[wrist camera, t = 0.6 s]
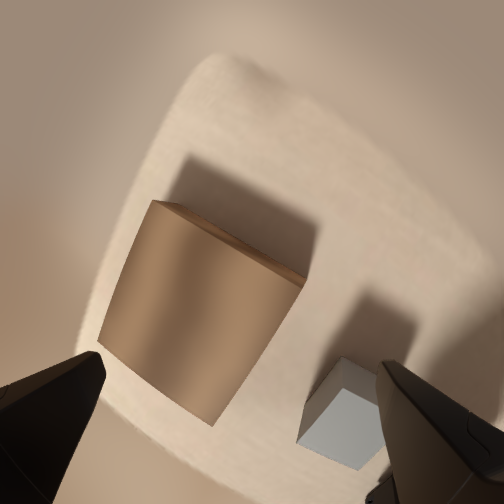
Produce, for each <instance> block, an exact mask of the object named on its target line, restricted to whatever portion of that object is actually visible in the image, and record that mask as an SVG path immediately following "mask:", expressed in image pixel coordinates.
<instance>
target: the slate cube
mask: <svg viewBox="0 0 504 504" xmlns="http://www.w3.org/2000/svg"><path fill="white" fill-rule="evenodd" d="M376 377H377V375H375V374H374V373H372V372H370V371H368V370H366V369H364V368H363V367H361V366H359V365H357V364H355V363H353V362H352V361H350V360H348V359H346V358H344V357H343V356H341V357H340V358H339V360H338V361H337V363H336V364H335V365H334V367H333V368H332V370H331V371H330V372H329V374H328V375H327V376H326V378H325V379H324V380H323V382H322V383H321V384H320V386H319V387H318V388H317V390H316V391H315V392H314V394H313V395H312V396H311V397H310V399H309V400H308V401H307V403H306V404H305V405H304V409H303V414H302V419H301V423H300V428H299V433H298V437H297V441H296V443H297V444H299V445H301V446H303V447H305V448H307V449H309V450H312V451H314V452H316V453H318V454H320V455H322V456H325V457H327V458H329V459H331V460H334V461H336V462H338V463H341V464H343V465H345V466H348V467H350V468H353V469H355V470H360V469H361V468H362V467H363V466H364V465H365V464H366V463H367V462H368V461H369V460H370V459H371V458H372V457H373V456H374V455H375V454H376V453H377V452H378V451H379V450H380V449H381V448H382V447H383V446H384V445H385V444H386V443H385V440H384V436H383V432H382V427H381V421H380V414H379V407H378V401H377V395H376V389H375V382H376Z"/></svg>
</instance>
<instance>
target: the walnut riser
mask: <svg viewBox="0 0 504 504" xmlns="http://www.w3.org/2000/svg"><path fill="white" fill-rule="evenodd" d="M306 281H307V279H305V278H304V277H302V276H300V275H299V274H297V273H295V272H294V271H292V270H290V269H288V268H287V267H285V266H283V265H282V264H280V263H278V262H276V261H275V260H273V259H271V258H270V257H268V256H266V255H265V254H263V253H261V252H259V251H258V250H256V249H254V248H253V247H251V246H249V245H248V244H246V243H244V242H242V241H241V240H239V239H237V238H236V237H234V236H232V235H230V234H229V233H227V232H225V231H224V230H222V229H220V228H218V227H217V226H215V225H213V224H212V223H210V222H208V221H206V220H205V219H203V218H201V217H200V216H198V215H196V214H194V213H193V212H191V211H189V210H188V209H186V208H184V207H182V206H181V205H179V204H176V203H170V202H164V201H157V200H152V202H151V204H150V206H149V208H148V210H147V212H146V215H145V217H144V219H143V221H142V224H141V226H140V228H139V231H138V233H137V235H136V238H135V240H134V242H133V245H132V247H131V250H130V252H129V254H128V257H127V259H126V262H125V264H124V267H123V269H122V272H121V275H120V277H119V280H118V282H117V285H116V288H115V291H114V293H113V296H112V299H111V302H110V304H109V307H108V310H107V313H106V316H105V319H104V322H103V325H102V328H101V331H100V334H99V337H98V340H97V341H98V342H99V343H100V344H101V345H103V346H104V347H105V348H106V349H107V350H108V351H109V352H111V353H112V354H113V355H114V356H115V357H117V358H118V359H119V360H120V361H121V362H123V363H124V364H125V365H126V366H127V367H129V368H130V369H131V370H132V371H134V372H135V373H136V374H137V375H139V376H140V377H141V378H143V379H144V380H145V381H146V382H148V383H149V384H150V385H152V386H153V387H154V388H156V389H157V390H159V391H160V392H161V393H163V394H164V395H165V396H167V397H168V398H170V399H171V400H172V401H174V402H175V403H177V404H178V405H180V406H181V407H183V408H184V409H185V410H187V411H188V412H190V413H191V414H193V415H194V416H196V417H198V418H199V419H201V420H202V421H204V422H205V423H207V424H209V425H210V426H212V427H213V425H214V424H215V423H216V421H217V420H218V418H219V417H220V415H221V414H222V413H223V411H224V410H225V408H226V407H227V405H228V404H229V403H230V401H231V400H232V398H233V397H234V395H235V394H236V392H237V391H238V389H239V388H240V386H241V385H242V383H243V382H244V380H245V379H246V377H247V376H248V374H249V373H250V371H251V370H252V368H253V367H254V365H255V364H256V362H257V361H258V359H259V358H260V356H261V355H262V353H263V351H264V350H265V348H266V347H267V345H268V344H269V342H270V340H271V339H272V337H273V336H274V334H275V333H276V331H277V329H278V328H279V326H280V325H281V323H282V321H283V320H284V318H285V317H286V315H287V313H288V312H289V310H290V308H291V307H292V305H293V303H294V302H295V300H296V298H297V297H298V295H299V293H300V292H301V290H302V288H303V286H304V284H305V283H306Z"/></svg>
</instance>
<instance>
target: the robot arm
mask: <svg viewBox="0 0 504 504" xmlns="http://www.w3.org/2000/svg"><path fill="white" fill-rule="evenodd" d="M105 379H106V370H105V367H104V364H103V361H102V358H101V356H100V354H99V353H98V352H94V351H87V352H84V353H82V354H80V355H77V356H75V357H73V358H70V359H68V360H66V361H64V362H61V363H59V364H56V365H54V366H52V367H49V368H47V369H45V370H42V371H40V372H38V373H35V374H33V375H30V376H28V377H26V378H23V379H21V380H18V381H16V382H14V383H11V384H10V385H6V386H4V387H1V388H0V504H52V503H53V501H54V499H55V496H56V494H57V491H58V489H59V486H60V484H61V482H62V479H63V477H64V475H65V472H66V470H67V468H68V465H69V463H70V461H71V459H72V457H73V454H74V452H75V450H76V447H77V446H78V443H79V441H80V439H81V437H82V434H83V432H84V430H85V428H86V426H87V424H88V422H89V420H90V418H91V416H92V413H93V411H94V409H95V406H96V403H97V400H98V398H99V395H100V392H101V390H102V387H103V384H104V382H105ZM375 389H376V395H377V401H378V407H379V414H380V421H381V427H382V432H383V436H384V440H385V443H386V447H387V451H388V455H389V459H390V463H391V467H392V471H393V476H391V477H390V478H389V479H388V480H387V481H386V482H385V483H384V484H382V485H381V486H380V487H379V488H378V489H376V490H375V491H374V492H373V493H372V494H370V495H369V496H368V497H367V498H366V499H365V504H504V432H503V431H501V430H499V429H498V428H496V427H494V426H492V425H490V424H489V423H487V422H486V421H484V420H483V419H481V418H479V417H478V416H476V415H475V414H473V413H472V412H469V410H467V409H466V408H464V407H463V406H461V405H460V404H458V403H457V402H455V401H454V400H452V399H451V398H449V397H448V396H447V395H445V394H444V393H442V392H441V391H439V390H438V389H436V388H435V387H433V386H432V385H430V384H429V383H427V382H426V381H424V380H423V379H421V378H420V377H419V376H417V375H416V374H414V373H413V372H411V371H410V370H408V369H407V368H405V367H404V366H402V365H401V364H399V363H398V362H397V361H395V360H382V361H381V362H380V364H379V368H378V373H377V377H376V382H375ZM370 500H371V501H370Z"/></svg>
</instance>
